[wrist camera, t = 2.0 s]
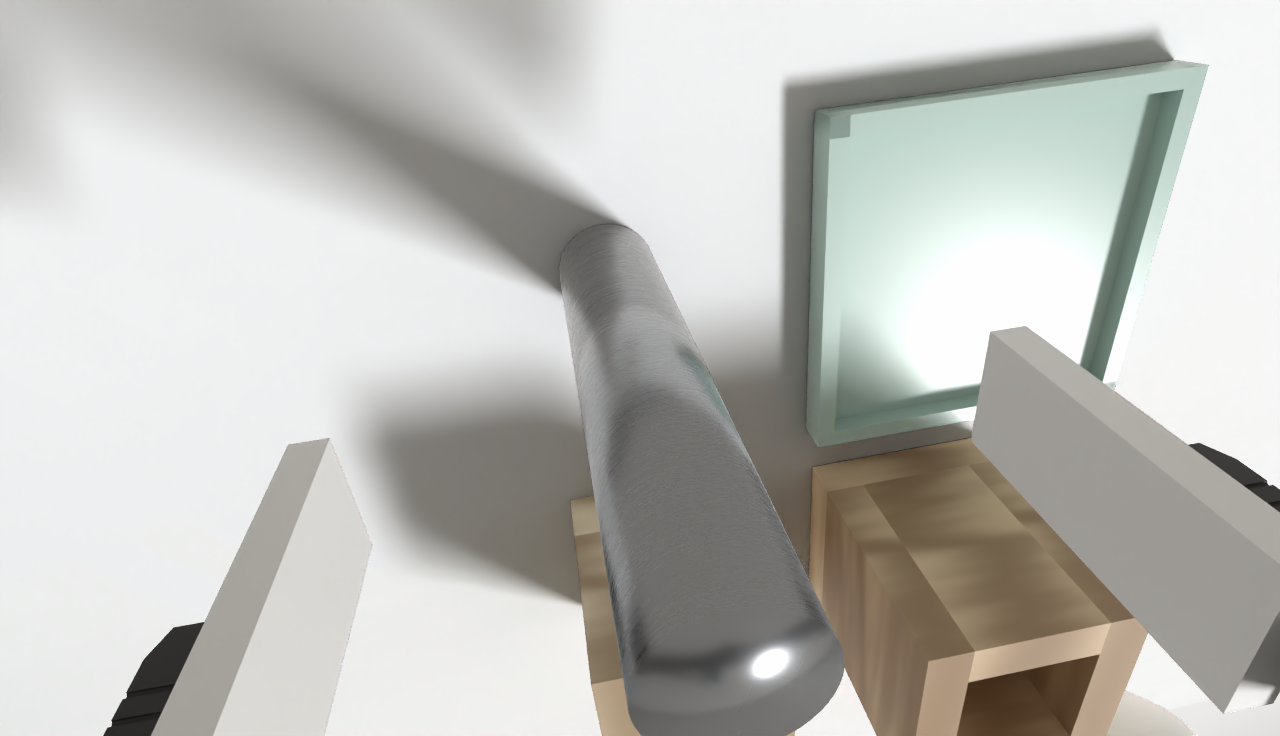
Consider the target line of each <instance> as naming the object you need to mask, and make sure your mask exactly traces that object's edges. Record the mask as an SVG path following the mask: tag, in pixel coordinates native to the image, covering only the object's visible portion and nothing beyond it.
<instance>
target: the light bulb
mask: <svg viewBox="0 0 1280 736" xmlns="http://www.w3.org/2000/svg"><path fill="white" fill-rule="evenodd" d="M1107 736H1198V735H1197V734H1196V733H1195V732H1194V731H1193V730H1192V729H1191V728H1190V727H1189V726H1188V725H1186V724H1185V723H1184V722H1183V721H1182V720H1181V719H1179V718H1178V717H1177V716H1175V715H1174V714H1172V713H1171V712H1169V711H1168V710H1166V709H1165V708H1163V707H1161V706H1159V705H1157V704H1155V703H1153V702H1150V701H1148V700H1146V699H1144V698H1142V697H1139V696H1137V695H1135V694H1133V693H1130V692H1128V691H1126V690H1125V691H1124V694H1123V696H1122V698H1121V701H1120V703H1119V706H1118V708H1117V711H1116V713H1115V716H1114V718H1113V721H1112V723H1111V726H1110V728H1109V731H1108V733H1107Z"/></svg>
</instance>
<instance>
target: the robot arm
mask: <svg viewBox="0 0 1280 736" xmlns="http://www.w3.org/2000/svg"><path fill="white" fill-rule="evenodd" d="M971 441H972V442H973V444H974V445H975V446H976V447H977V448H978V449H979V450H980V451H981V452H982V453H983V454H984V455H985V457H986V458H987V459H988V460H989V461H990V462H991V463H992V464H993V465H994V466H995V467H996V468H997V470H998V471H999V472H1000V473H1001V474H1002V475H1003V476H1004V477H1005V478H1006V479H1007V480H1008V481H1009V482H1010V484H1011V485H1012V486H1013V487H1014V488H1015V489H1016V490H1017V491H1018V492H1019V493H1020V494H1021V495H1022V497H1023V498H1024V499H1025V500H1026V501H1027V502H1028V503H1029V504H1030V505H1031V506H1032V507H1033V508H1034V510H1035V511H1036V512H1037V513H1038V514H1039V515H1040V516H1041V517H1042V518H1043V519H1044V520H1045V521H1046V522H1047V524H1048V525H1049V526H1050V527H1051V528H1052V529H1053V530H1054V531H1055V532H1056V533H1057V534H1058V535H1059V537H1060V538H1061V539H1062V540H1063V541H1064V542H1065V543H1066V544H1067V545H1068V546H1069V547H1070V548H1071V550H1072V551H1073V552H1074V553H1075V554H1076V555H1077V556H1078V557H1079V558H1080V559H1081V560H1082V561H1083V562H1084V564H1085V565H1086V566H1087V567H1088V568H1089V569H1090V570H1091V571H1092V572H1093V573H1094V574H1095V575H1096V577H1097V578H1098V579H1099V580H1100V581H1101V582H1102V583H1103V584H1104V585H1105V586H1106V587H1107V588H1108V589H1109V591H1110V592H1111V593H1112V594H1113V595H1114V596H1115V597H1116V598H1117V599H1118V600H1119V601H1120V602H1121V604H1122V605H1123V606H1124V607H1125V608H1126V609H1127V610H1128V611H1129V612H1130V613H1131V614H1132V615H1133V617H1134V618H1135V619H1136V620H1137V621H1138V622H1139V623H1140V624H1141V625H1142V626H1143V627H1144V628H1145V629H1146V631H1147V632H1148V633H1149V634H1150V635H1151V636H1152V637H1153V638H1154V639H1155V640H1156V641H1157V642H1158V644H1159V645H1160V646H1161V647H1162V648H1163V649H1164V650H1165V651H1166V652H1167V653H1168V654H1169V655H1170V657H1171V658H1172V659H1173V660H1174V661H1175V662H1176V663H1177V664H1178V665H1179V666H1180V667H1181V668H1182V669H1183V671H1184V672H1185V673H1186V674H1187V675H1188V676H1189V677H1190V678H1191V679H1192V680H1193V681H1194V682H1195V684H1196V685H1197V686H1198V687H1199V688H1200V689H1201V690H1202V691H1203V692H1204V693H1205V694H1206V695H1207V697H1208V698H1209V699H1210V700H1211V701H1212V702H1213V703H1214V704H1215V705H1216V706H1217V707H1218V708H1219V709H1220V711H1221V712H1222V713H1223V714H1225V713H1230V712H1234V711H1239V710H1244V709H1249V708H1254V707H1258V706H1263V705H1267V704H1272V703H1273V702H1274V701H1275V699H1276V697H1277V696H1278V694H1279V692H1280V490H1279V489H1278V488H1277V487H1275V486H1274V485H1271V486H1269V485H1268V484H1267V480H1265V479H1264V478H1262V477H1261V476H1260V475H1258V474H1257V473H1255V472H1254V471H1253V470H1251V469H1250V468H1248V467H1247V466H1245V465H1244V464H1243V463H1241V462H1240V461H1238V460H1237V459H1235V458H1232V457H1230V456H1228V455H1226V454H1223V453H1221V452H1219V451H1217V450H1214V449H1212V448H1210V447H1207V446H1205V445H1203V444H1201V443H1196V444H1190V445H1187V444H1186V443H1185V442H1183V441H1182V440H1181V439H1179V438H1178V437H1176V436H1175V435H1174V434H1172V433H1171V432H1170V431H1168V430H1167V429H1166V428H1164V427H1163V426H1162V425H1160V424H1159V423H1157V422H1156V421H1155V420H1153V419H1152V418H1151V417H1149V416H1148V415H1147V414H1145V413H1144V412H1142V411H1141V410H1140V409H1138V408H1137V407H1136V406H1134V405H1133V404H1132V403H1130V402H1129V401H1128V400H1126V399H1125V398H1123V397H1122V396H1121V395H1119V394H1118V393H1117V392H1115V391H1114V390H1113V389H1111V388H1110V387H1109V386H1107V385H1106V384H1104V383H1103V382H1102V381H1100V380H1099V379H1098V378H1096V377H1095V376H1094V375H1092V374H1091V373H1089V372H1088V371H1087V370H1085V369H1084V368H1083V367H1081V366H1080V365H1079V364H1077V363H1076V362H1075V361H1073V360H1072V359H1070V358H1069V357H1068V356H1066V355H1065V354H1064V353H1062V352H1061V351H1060V350H1058V349H1057V348H1056V347H1054V346H1053V345H1051V344H1050V343H1049V342H1047V341H1046V340H1045V339H1043V338H1042V337H1041V336H1039V335H1038V334H1036V333H1035V332H1034V331H1032V330H1031V329H1030V328H1028V327H1027V326H1020V327H1014V328H1008V329H1002V330H995V331H990V334H989V340H988V345H987V351H986V357H985V362H984V368H983V373H982V379H981V385H980V390H979V396H978V402H977V407H976V413H975V418H974V424H973V430H972V435H971ZM371 547H372V542H371V540H370V537H369V535H368V532H367V530H366V527H365V525H364V522H363V520H362V517H361V515H360V512H359V510H358V507H357V505H356V502H355V500H354V497H353V495H352V492H351V490H350V487H349V485H348V482H347V480H346V477H345V475H344V472H343V470H342V467H341V465H340V462H339V460H338V457H337V455H336V452H335V450H334V447H333V445H332V442H331V440H330V438H327V439H321V440H315V441H309V442H302V443H296V444H290V445H288V446H287V449H286V451H285V453H284V455H283V457H282V459H281V461H280V463H279V466H278V468H277V470H276V472H275V474H274V476H273V478H272V480H271V482H270V485H269V487H268V489H267V491H266V493H265V495H264V497H263V499H262V502H261V504H260V506H259V508H258V510H257V512H256V514H255V516H254V518H253V521H252V523H251V525H250V527H249V529H248V531H247V533H246V535H245V537H244V540H243V542H242V544H241V546H240V548H239V550H238V552H237V554H236V557H235V559H234V561H233V563H232V565H231V567H230V569H229V571H228V573H227V576H226V578H225V580H224V582H223V584H222V586H221V588H220V590H219V593H218V595H217V597H216V599H215V601H214V603H213V605H212V607H211V609H210V612H209V614H208V616H207V618H206V620H205V622H202V623H197V624H191V625H185V626H180V627H174V628H173V629H172V630H171V631H170V632H169V633H168V634H167V635H166V636H165V637H164V638H163V640H162V641H161V642H160V643H159V644H158V645H157V646H156V647H155V648H154V649H153V650H152V651H151V652H150V653H149V654H148V656H147V657H146V658H145V659H144V660H143V662H142V664H141V666H140V668H139V670H138V672H137V673H136V675H135V677H134V679H133V681H132V683H131V685H130V687H129V688H128V690H127V692H126V693H127V698H126V699H123V700H122V702H121V703H120V705H119V707H118V709H117V711H116V713H115V715H114V717H113V719H112V720H111V721H112V726H111V727H109V728H107V730H106V732H105V734H104V735H103V736H324V735H325V731H326V727H327V723H328V719H329V715H330V711H331V707H332V703H333V699H334V695H335V691H336V687H337V683H338V679H339V675H340V671H341V667H342V663H343V659H344V655H345V651H346V647H347V643H348V639H349V635H350V631H351V627H352V623H353V619H354V615H355V611H356V607H357V603H358V599H359V595H360V591H361V587H362V583H363V579H364V575H365V571H366V567H367V563H368V559H369V555H370V551H371Z"/></svg>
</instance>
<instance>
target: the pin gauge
mask: <svg viewBox="0 0 1280 736" xmlns="http://www.w3.org/2000/svg"><path fill="white" fill-rule="evenodd" d="M559 276H560V283H561V289H562V295H563V302H564V308H565V314H566V321H567V327H568V333H569V340H570V346H571V352H572V359H573V365H574V371H575V378H576V384H577V390H578V397H579V403H580V409H581V416H582V422H583V428H584V435H585V441H586V447H587V454H588V460H589V466H590V473H591V479H592V485H593V492H594V498H595V504H596V511H597V517H598V523H599V530H600V536H601V542H602V549H603V555H604V561H605V568H606V574H607V580H608V587H609V593H610V599H611V606H612V612H613V618H614V625H615V631H616V637H617V644H618V650H619V656H620V663H621V669H622V675H623V682H624V688H625V694H626V701H627V707H628V712H629V716H630V719H631V721H632V723H633V725H634V727H635V728H636V730H637V731H638V732H639V733H640V734H641V735H642V736H787V735H789V734H790V733H792V732H794V731H795V730H797V729H799V728H800V727H802V726H803V725H804V724H806V723H807V722H808V721H810V720H811V719H812V718H813V717H815V716H816V715H817V714H818V713H819V712H820V711H821V710H822V709H823V708H824V707H825V706H826V704H827V703H828V702H829V701H830V699H831V698H832V697H833V695H834V694H835V692H836V690H837V688H838V686H839V685H840V682H841V679H842V676H843V672H844V666H845V663H844V653H843V649H842V646H841V644H840V642H839V640H838V638H837V636H836V634H835V631H834V629H833V627H832V625H831V623H830V621H829V619H828V617H827V615H826V613H825V611H824V609H823V607H822V605H821V603H820V600H819V598H818V596H817V594H816V592H815V590H814V588H813V586H812V584H811V582H810V580H809V578H808V576H807V574H806V571H805V569H804V567H803V565H802V563H801V561H800V559H799V557H798V555H797V553H796V551H795V549H794V547H793V545H792V543H791V540H790V538H789V536H788V534H787V532H786V530H785V528H784V526H783V524H782V522H781V520H780V518H779V516H778V514H777V511H776V509H775V507H774V505H773V503H772V501H771V499H770V497H769V495H768V493H767V491H766V489H765V487H764V485H763V482H762V480H761V478H760V476H759V474H758V472H757V470H756V468H755V466H754V464H753V462H752V460H751V458H750V456H749V454H748V451H747V449H746V447H745V445H744V443H743V441H742V439H741V437H740V435H739V433H738V431H737V429H736V427H735V425H734V422H733V420H732V418H731V416H730V414H729V412H728V410H727V408H726V406H725V404H724V402H723V400H722V398H721V396H720V394H719V391H718V389H717V387H716V385H715V383H714V381H713V379H712V377H711V375H710V373H709V371H708V369H707V367H706V365H705V362H704V360H703V358H702V356H701V354H700V352H699V350H698V348H697V346H696V344H695V342H694V340H693V338H692V336H691V334H690V331H689V329H688V327H687V325H686V323H685V321H684V319H683V317H682V315H681V313H680V311H679V309H678V307H677V305H676V302H675V300H674V298H673V296H672V294H671V292H670V290H669V288H668V286H667V284H666V282H665V280H664V278H663V276H662V274H661V271H660V269H659V267H658V265H657V263H656V261H655V259H654V257H653V255H652V253H651V251H650V249H649V247H648V245H647V244H646V242H645V241H644V240H643V238H642V237H641V236H639V235H638V234H637V233H636V232H634V231H633V230H631V229H629V228H627V227H624V226H621V225H616V224H600V225H596V226H592V227H590V228H587V229H585V230H583V231H582V232H580V233H579V234H577V235H576V236H575V237H574V238H573V239H572V240H571V241H570V242H569V243H568V245H567V246H566V248H565V249H564V251H563V253H562V256H561V259H560V265H559Z"/></svg>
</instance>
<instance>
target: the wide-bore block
mask: <svg viewBox="0 0 1280 736" xmlns="http://www.w3.org/2000/svg"><path fill="white" fill-rule="evenodd" d="M809 580H810V582H811V584H812V586H813V588H814V590H815V592H816V594H817V596H818V598H819V600H820V603H821V605H822V607H823V609H824V611H825V613H826V615H827V617H828V619H829V621H830V623H831V625H832V627H833V629H834V631H835V634H836V636H837V638H838V640H839V642H840V644H841V646H842V649H843V653H844V663H845V666H844V667H845V669H846V672H847V674H848V676H849V678H850V680H851V682H852V684H853V686H854V688H855V691H856V693H857V695H858V697H859V699H860V701H861V703H862V705H863V707H864V710H865V712H866V714H867V716H868V718H869V720H870V722H871V724H872V726H873V729H874V731H875V733H876V735H877V736H1107V733H1108V731H1109V728H1110V726H1111V723H1112V721H1113V718H1114V716H1115V713H1116V711H1117V708H1118V706H1119V703H1120V701H1121V698H1122V696H1123V694H1124V691H1125V689H1126V686H1127V684H1128V681H1129V679H1130V676H1131V674H1132V671H1133V669H1134V666H1135V664H1136V661H1137V659H1138V656H1139V654H1140V651H1141V649H1142V646H1143V644H1144V641H1145V639H1146V636H1147V634H1148V632H1147V631H1146V629H1145V628H1144V627H1143V626H1142V625H1141V624H1140V623H1139V622H1138V621H1137V620H1136V619H1135V618H1134V617H1133V615H1132V614H1131V613H1130V612H1129V611H1128V610H1127V609H1126V608H1125V607H1124V606H1123V605H1122V604H1121V602H1120V601H1119V600H1118V599H1117V598H1116V597H1115V596H1114V595H1113V594H1112V593H1111V592H1110V591H1109V589H1108V588H1107V587H1106V586H1105V585H1104V584H1103V583H1102V582H1101V581H1100V580H1099V579H1098V578H1097V577H1096V575H1095V574H1094V573H1093V572H1092V571H1091V570H1090V569H1089V568H1088V567H1087V566H1086V565H1085V564H1084V562H1083V561H1082V560H1081V559H1080V558H1079V557H1078V556H1077V555H1076V554H1075V553H1074V552H1073V551H1072V550H1071V548H1070V547H1069V546H1068V545H1067V544H1066V543H1065V542H1064V541H1063V540H1062V539H1061V538H1060V537H1059V535H1058V534H1057V533H1056V532H1055V531H1054V530H1053V529H1052V528H1051V527H1050V526H1049V525H1048V524H1047V522H1046V521H1045V520H1044V519H1043V518H1042V517H1041V516H1040V515H1039V514H1038V513H1037V512H1036V511H1035V510H1034V508H1033V507H1032V506H1031V505H1030V504H1029V503H1028V502H1027V501H1026V500H1025V499H1024V498H1023V497H1022V495H1021V494H1020V493H1019V492H1018V491H1017V490H1016V489H1015V488H1014V487H1013V486H1012V485H1011V484H1010V482H1009V481H1008V480H1007V479H1006V478H1005V477H1004V476H1003V475H1002V474H1001V473H1000V472H999V471H998V470H997V468H996V467H995V466H994V465H993V464H992V463H991V462H990V461H989V460H988V459H987V458H986V457H985V455H984V454H983V453H982V452H981V451H980V450H979V449H978V448H977V447H976V446H975V445H974V444H973V442H972V441H971V438H968V439H963V440H958V441H952V442H947V443H941V444H936V445H930V446H925V447H919V448H914V449H908V450H903V451H897V452H892V453H887V454H881V455H876V456H870V457H865V458H859V459H854V460H848V461H843V462H837V463H832V464H826V465H821V466H816V467H813V468H812V498H811V528H810V558H809Z"/></svg>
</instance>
